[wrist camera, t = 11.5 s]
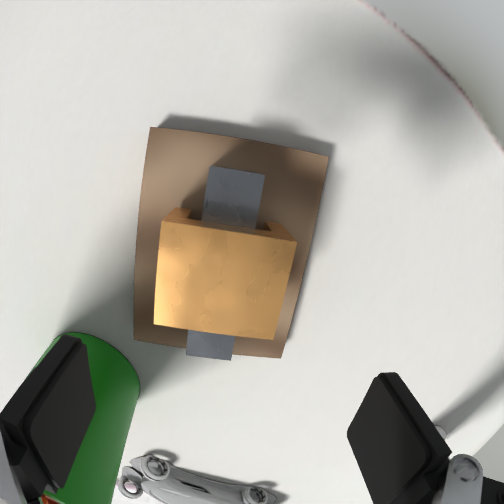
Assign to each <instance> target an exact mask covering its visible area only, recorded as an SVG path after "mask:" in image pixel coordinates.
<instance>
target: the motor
mask: <svg viewBox="0 0 504 504" xmlns="http://www.w3.org/2000/svg"><path fill="white" fill-rule="evenodd" d="M66 334H67V335H71V336H74V337H78V338H80V339H81V340H82V343H83V344H86V346H87V352H88V360H89V367H90V374H91V380H92V386H93V391H94V397H95V402H96V410H95V413H94V416H93V418H92V420H91V423H90V425H89V427H88V430H87V432H86V434H85V437H84V439H83V441H82V444H81V446H80V448H79V451H78V453H77V456H76V458H75V461H74V463H73V466H72V468H71V471H70V473H69V476H68V479H67V481H66V484H65V486H64V488H62V489H60V488H59V489H58V491H57V494H53V493H51V492H49V491H46V490H44V492H43V494H42V497H41V499H42V501H43V504H111V502H112V497H113V493H114V488H115V484H116V479H117V475H118V471H119V467H120V463H121V459H122V455H123V451H124V447H125V443H126V439H127V435H128V431H129V428H130V424H131V421H132V417H133V413H134V410H135V406H136V403H137V399H138V396H139V392H140V383H139V379H138V376H137V374H136V372H135V370H134V368H133V367H132V365H131V364H130V363H129V361H128V360H127V359H126V358H125V357H124V356H123V355H122V354H121V353H120V352H119V351H118V350H116V349H115V348H114V347H112V346H111V345H109V344H108V343H106V342H104V341H103V340H101V339H98V338H96V337H94V336H91V335H87V334H83V333H66ZM62 335H63V334H62ZM62 335H60V336H58V337H57V338H56V339H54V341H53V342H52V343H51V344H50V346H49V347H48V348H47V350H46V351H45V352H44V354H43V355H42V356H41V358H40V359H39V361H38V362H37V363H36V365H35V366H34V367H33V369H34V368H35V367H37V366H38V365H39V363H40V362H41V361H42V359H43V358H44V357H45V356H46V354H47V353H48V352H49V351H50V350H51V348H52V347H53V346H54V345H55V343H56V342H57V341H58V340H59V339H60V337H61V336H62ZM33 369H32V370H33ZM32 370H31V371H32ZM30 373H31V372H30ZM30 373H29V374H30ZM27 377H28V376H27ZM27 377H26V378H27Z"/></svg>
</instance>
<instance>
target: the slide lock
mask: <svg viewBox="0 0 504 504" xmlns="http://www.w3.org/2000/svg"><path fill="white" fill-rule="evenodd" d="M191 214H192V209H186V208H179V207H175V208H174V209H173V210H172V211H171V212H170V213H169V214H168V215H167V216H166V217H165V218H164V219H163V220H162V221H161V230H160V240H159V250H158V261H157V274H156V288H155V305H154V324H157V325H163V326H169V327H175V328H181V329H188V330H195V331H202V332H209V333H216V334H224V335H232V336H241V337H250V338H260V339H270V340H273V339H274V335H275V331H276V327H277V323H278V319H279V315H280V312H281V308H282V303H283V299H284V295H285V291H286V287H287V283H288V279H289V275H290V270H291V266H292V262H293V258H294V253H295V249H296V245H297V241H296V240H295V239H294V238H293V237H292V235H291V234H290V233H289V232H288V231H287V229H286V228H285V227H284V226H283V225H282V224H280V223H274V222H268V221H265V226H264V230H258V229H252V228H245V227H239V226H233V225H226V224H220V223H214V222H207V221H200V220H194V219H191Z"/></svg>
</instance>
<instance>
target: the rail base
mask: <svg viewBox="0 0 504 504" xmlns="http://www.w3.org/2000/svg"><path fill="white" fill-rule="evenodd" d="M328 159H329V157H328V156H324V155H320V154H315V153H311V152H307V151H302V150H298V149H293V148H289V147H284V146H279V145H274V144H269V143H263V142H258V141H253V140H247V139H241V138H235V137H229V136H222V135H215V134H208V133H201V132H193V131H185V130H176V129H167V128H156V127H150V132H149V138H148V144H147V150H146V157H145V164H144V171H143V179H142V187H141V196H140V205H139V215H138V227H137V240H136V255H135V276H134V340H138V341H144V342H149V343H155V344H161V345H167V346H173V347H180V348H187V338H188V329H181V328H175V327H169V326H163V325H157V324H154V305H155V288H156V274H157V261H158V250H159V240H160V230H161V221H162V220H163V219H164V218H165V217H166V216H167V215H168V214H169V213H170V212H171V211H172V210H173V209H174V208H175V207H179V208H186V209H192V214H191V219H194V220H200V221H201V219H202V212H203V205H204V198H205V192H206V185H207V179H208V173H209V167H210V166H211V165H217V166H223V167H230V168H236V169H242V170H248V171H254V172H259V173H261V174H264V175H265V178H264V184H263V189H262V195H261V200H260V205H259V211H258V216H257V222H256V227H255V229H258V230H264V226H265V221H268V222H274V223H280V224H282V225H283V226H284V227H285V228H286V229H287V231H288V232H289V233H290V234H291V235H292V237H293V238H294V239H295V240H296V241H297V245H296V249H295V253H294V258H293V262H292V266H291V270H290V275H289V279H288V283H287V287H286V291H285V295H284V299H283V303H282V308H281V312H280V315H279V319H278V323H277V327H276V331H275V335H274V339H273V340H270V339H260V338H250V337H241V336H235V341H234V347H233V352H232V354H235V355H245V356H256V357H268V358H281V357H282V353H283V350H284V346H285V342H286V339H287V335H288V332H289V328H290V324H291V321H292V317H293V313H294V309H295V305H296V301H297V298H298V294H299V290H300V286H301V282H302V278H303V274H304V270H305V265H306V261H307V257H308V253H309V249H310V244H311V240H312V236H313V231H314V227H315V222H316V218H317V213H318V208H319V204H320V199H321V194H322V189H323V184H324V179H325V174H326V169H327V164H328Z"/></svg>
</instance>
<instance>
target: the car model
mask: <svg viewBox="0 0 504 504" xmlns="http://www.w3.org/2000/svg"><path fill="white" fill-rule="evenodd" d="M130 463H131V465H132V466H133V467H134V468H132V467H127V466H124V467H123V468H122V476H121V478H120V480H119V481H118V488H119V491H120V492H121V493H122V495H124V496H125V497H128V498H138V497H140V496H141V495H142V493H143V491H144V492H146V493H147V494H149V495H150V496H152V497H153V498H155V499H157V500H158V501H160V502H162V503H164V504H272V503H273V502H274V501H275V500H276V497H275V496H273V495H272V494H270V493H268V492H267V491H265V490H264V489H262V488H256V487H253V486H242V485H233V484H226V483H221V482H217V481H213V480H209V479H206V478H202V477H200V476H197V475H194V474H191V473H188V472H185V471H183V470H181V469H179V468H177V467H175V466H173V465H171V464H169V463H168V462H166V461H165V460H163V459H159V458H157V457H155V456H153V455H147V456H143V457H138V458H134V459H131V461H130ZM125 482H131V483H133V484H134V485H135V486H136V488H137V492H136V493H130V492H128V491H127V490H126V488H125V487H124V483H125ZM251 491H252V492H251Z"/></svg>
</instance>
